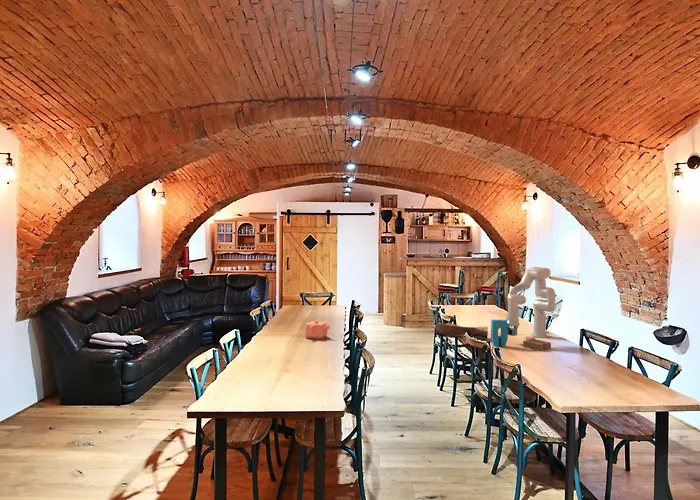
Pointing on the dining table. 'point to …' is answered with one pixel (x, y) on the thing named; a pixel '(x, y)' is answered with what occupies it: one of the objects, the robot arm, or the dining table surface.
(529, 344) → the walnut base block
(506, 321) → the block
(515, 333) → the slate-blue cube
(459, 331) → the log
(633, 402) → the dining table surface
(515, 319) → the robot arm
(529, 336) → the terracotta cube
